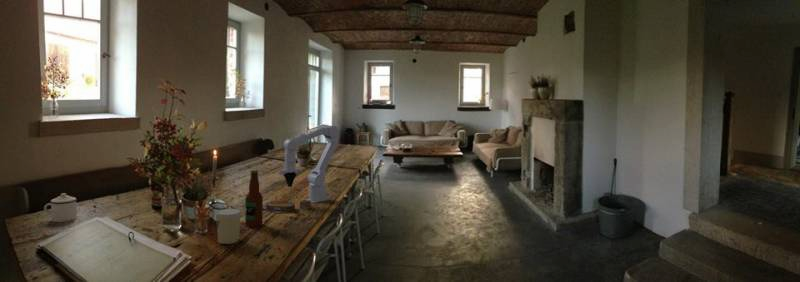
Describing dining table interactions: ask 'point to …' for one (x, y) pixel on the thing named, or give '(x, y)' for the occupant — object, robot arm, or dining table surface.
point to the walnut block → (305, 204)
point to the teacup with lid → (62, 208)
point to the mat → (274, 210)
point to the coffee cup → (228, 225)
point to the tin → (280, 206)
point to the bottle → (253, 202)
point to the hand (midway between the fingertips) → (289, 186)
